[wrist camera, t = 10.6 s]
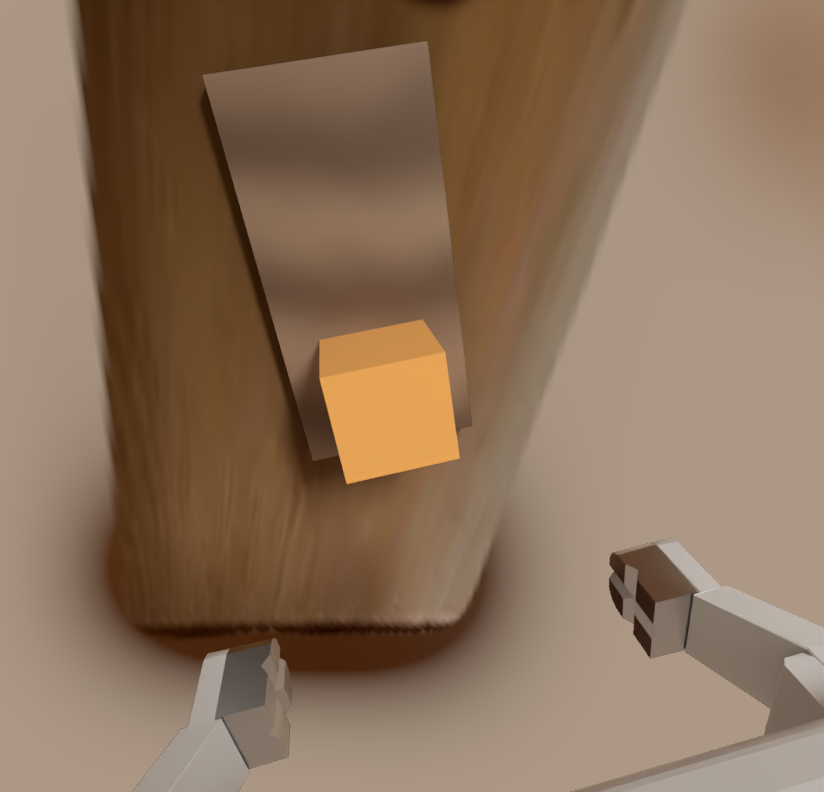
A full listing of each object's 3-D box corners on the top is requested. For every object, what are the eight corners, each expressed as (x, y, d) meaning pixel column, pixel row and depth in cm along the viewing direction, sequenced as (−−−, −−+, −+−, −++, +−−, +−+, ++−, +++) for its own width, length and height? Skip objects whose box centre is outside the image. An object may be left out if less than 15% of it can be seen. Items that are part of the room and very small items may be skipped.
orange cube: (319, 340, 24) (319, 378, 20) (422, 319, 25) (445, 352, 20) (342, 431, 27) (346, 484, 22) (436, 410, 27) (459, 458, 22)
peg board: (208, 80, 20) (179, 56, 16) (422, 47, 21) (447, 16, 17) (313, 450, 28) (312, 499, 24) (466, 416, 29) (491, 458, 25)
